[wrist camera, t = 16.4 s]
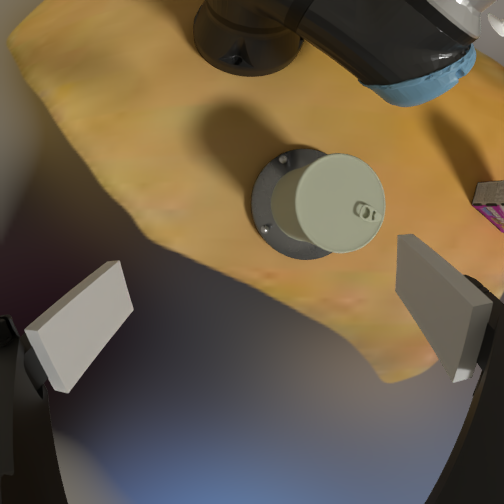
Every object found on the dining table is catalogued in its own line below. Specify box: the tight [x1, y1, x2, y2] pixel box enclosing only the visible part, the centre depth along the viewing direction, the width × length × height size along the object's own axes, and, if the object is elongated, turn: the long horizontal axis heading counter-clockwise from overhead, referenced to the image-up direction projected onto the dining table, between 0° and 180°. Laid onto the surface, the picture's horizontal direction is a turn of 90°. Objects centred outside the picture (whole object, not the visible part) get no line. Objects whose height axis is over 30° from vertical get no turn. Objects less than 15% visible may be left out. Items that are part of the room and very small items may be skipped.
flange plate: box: [251, 149, 332, 260], centre depth 39 cm, size 14×14×1 cm
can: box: [271, 153, 385, 253], centre depth 33 cm, size 9×9×12 cm
